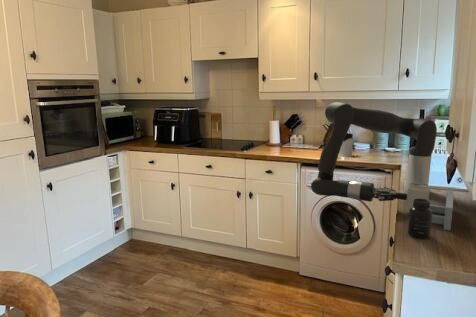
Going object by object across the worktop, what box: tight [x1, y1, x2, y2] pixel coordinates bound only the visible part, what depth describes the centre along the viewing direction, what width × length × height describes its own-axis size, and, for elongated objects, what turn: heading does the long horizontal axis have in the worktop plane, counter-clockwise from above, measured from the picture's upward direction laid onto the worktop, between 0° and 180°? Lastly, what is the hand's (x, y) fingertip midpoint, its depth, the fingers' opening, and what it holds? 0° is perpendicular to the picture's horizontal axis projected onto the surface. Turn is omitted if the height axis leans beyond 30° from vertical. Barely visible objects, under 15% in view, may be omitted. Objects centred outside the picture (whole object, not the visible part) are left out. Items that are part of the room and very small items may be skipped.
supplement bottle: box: [407, 199, 433, 240], centre depth 121 cm, size 7×7×12 cm
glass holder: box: [338, 132, 354, 158], centre depth 256 cm, size 9×14×15 cm, turn 24°
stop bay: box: [429, 189, 454, 231], centre depth 137 cm, size 24×10×8 cm, turn 150°
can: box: [405, 182, 431, 215], centre depth 140 cm, size 8×8×12 cm
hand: (407, 196), depth 142 cm, fingers closed
